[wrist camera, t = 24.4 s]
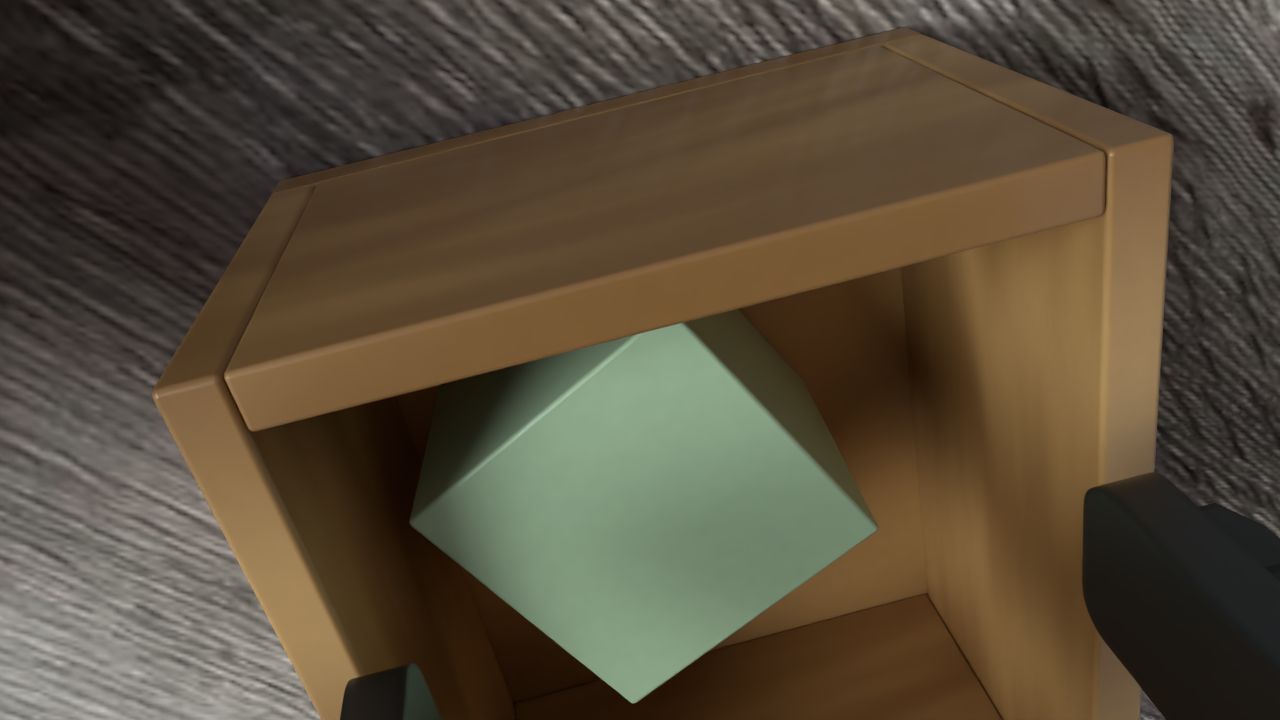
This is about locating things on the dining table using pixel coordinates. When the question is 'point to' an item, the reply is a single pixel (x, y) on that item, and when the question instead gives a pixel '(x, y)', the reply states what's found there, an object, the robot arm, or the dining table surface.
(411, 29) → the dining table surface
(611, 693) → the chest
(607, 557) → the block
